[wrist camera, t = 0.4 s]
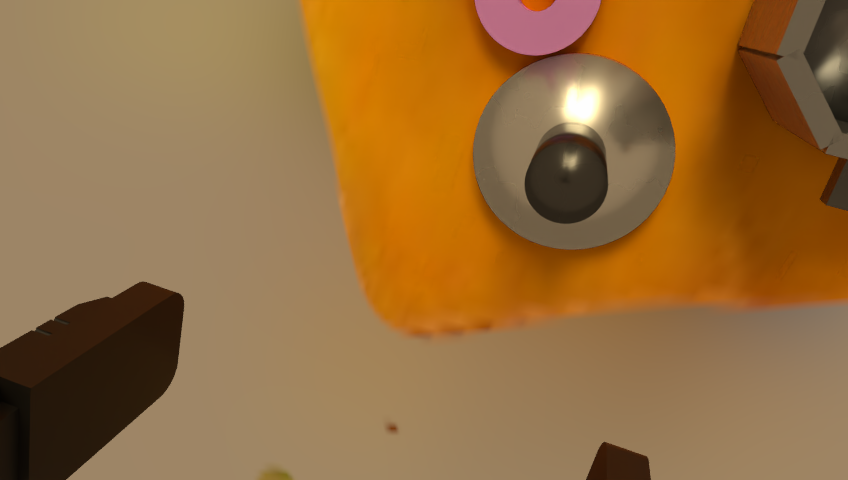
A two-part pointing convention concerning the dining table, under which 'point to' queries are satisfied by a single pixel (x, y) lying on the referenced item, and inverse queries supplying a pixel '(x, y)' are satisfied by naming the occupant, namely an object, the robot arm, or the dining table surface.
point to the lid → (574, 151)
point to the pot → (804, 75)
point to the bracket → (536, 24)
